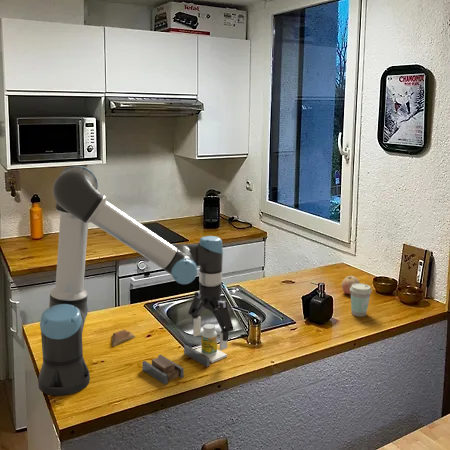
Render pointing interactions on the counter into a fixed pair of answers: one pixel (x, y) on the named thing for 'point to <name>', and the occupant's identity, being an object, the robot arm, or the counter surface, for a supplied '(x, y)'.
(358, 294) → the coffee cup
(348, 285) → the fruit
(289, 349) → the counter surface
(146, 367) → the grey cradle
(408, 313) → the counter surface
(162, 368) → the offcut upper
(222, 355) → the pad
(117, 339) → the shard
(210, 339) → the supplement bottle
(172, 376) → the offcut lower
